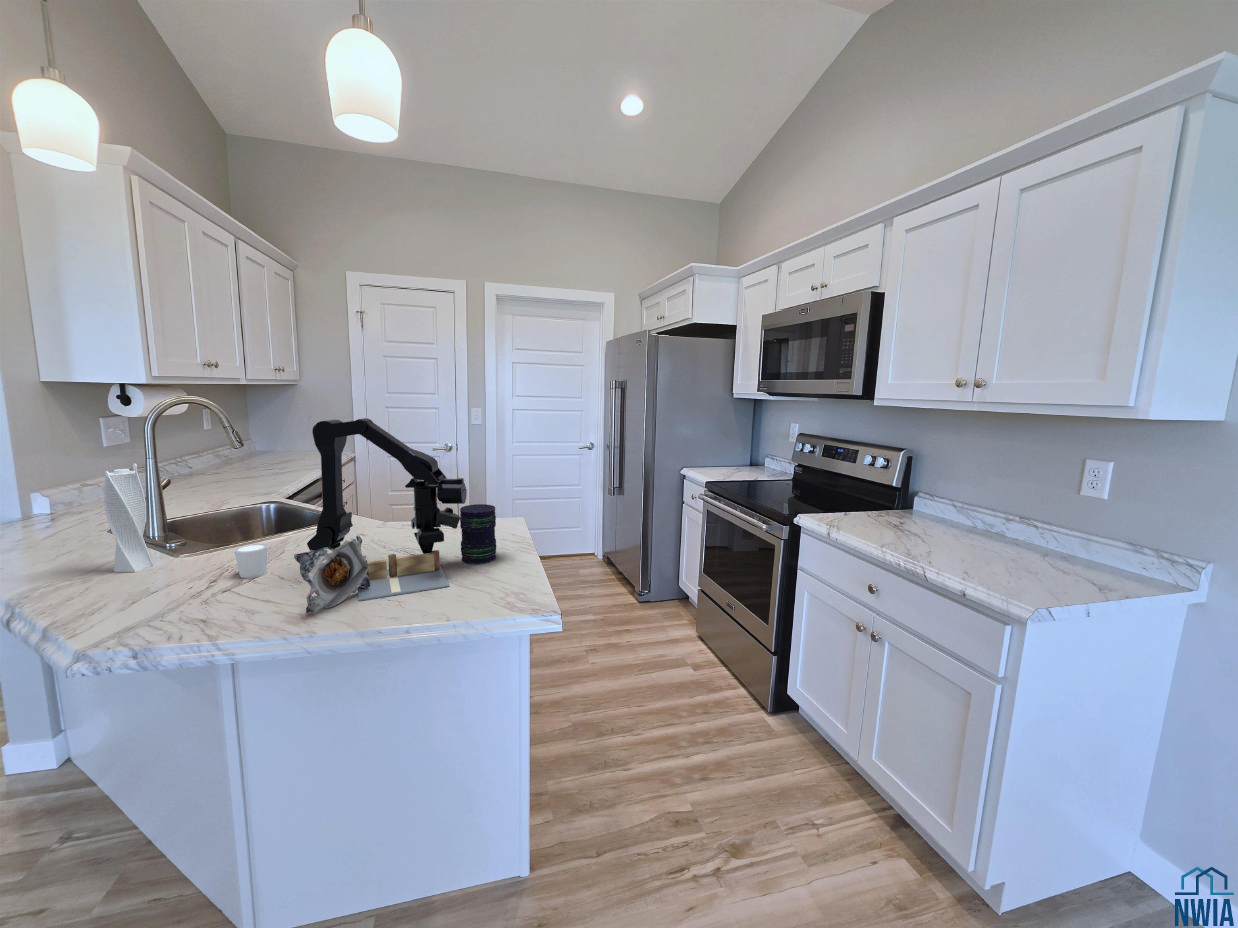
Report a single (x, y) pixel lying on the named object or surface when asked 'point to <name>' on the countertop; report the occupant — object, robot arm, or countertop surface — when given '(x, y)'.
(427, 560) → the rail
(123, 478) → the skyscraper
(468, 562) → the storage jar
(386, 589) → the board
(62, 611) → the countertop surface
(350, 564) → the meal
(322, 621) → the countertop surface
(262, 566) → the white cylinder
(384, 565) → the fixed fence rail
